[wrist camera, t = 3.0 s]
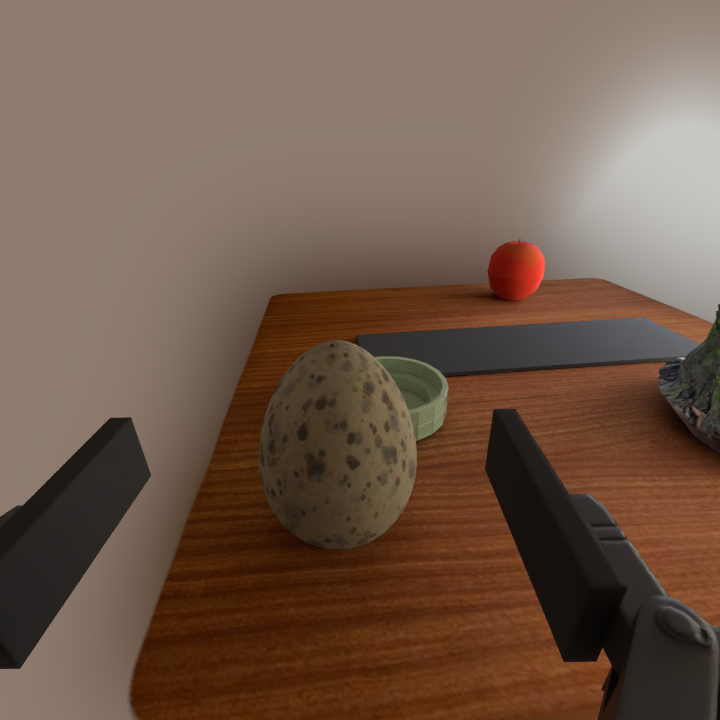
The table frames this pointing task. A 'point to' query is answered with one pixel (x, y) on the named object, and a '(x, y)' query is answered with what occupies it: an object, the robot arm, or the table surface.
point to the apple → (516, 270)
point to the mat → (533, 346)
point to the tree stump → (697, 388)
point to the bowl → (419, 392)
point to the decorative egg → (337, 448)
